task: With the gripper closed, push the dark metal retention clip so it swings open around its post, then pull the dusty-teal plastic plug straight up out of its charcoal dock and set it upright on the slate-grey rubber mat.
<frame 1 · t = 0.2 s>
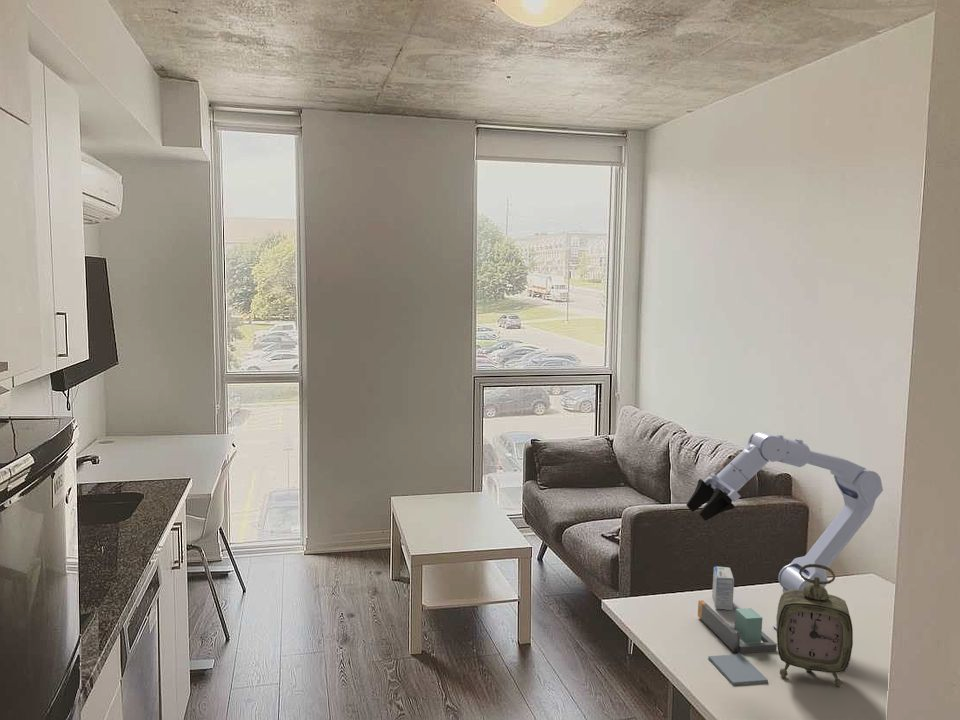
hand: (695, 512, 174), 31 cm above the table, tool tilted 45°, fingers open, 7 cm apart
medicine box: (721, 604, 198), on the table
plug: (748, 627, 177), in the dock
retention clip: (718, 624, 180), point 3 cm above the table, hinge at 0.0°
mat: (737, 670, 164), on the table
tabletop clock: (809, 676, 163), on the table
dock: (747, 641, 177), on the table
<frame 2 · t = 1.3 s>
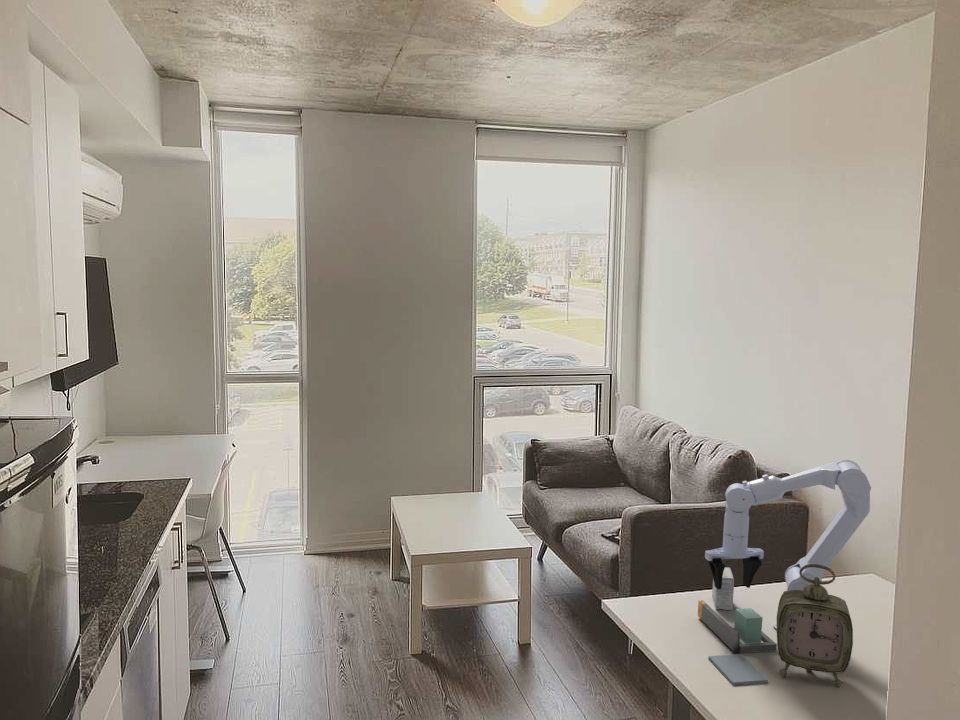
hand: (732, 586, 185), 9 cm above the table, tool pointing down, fingers open, 7 cm apart
nothing on the table moved.
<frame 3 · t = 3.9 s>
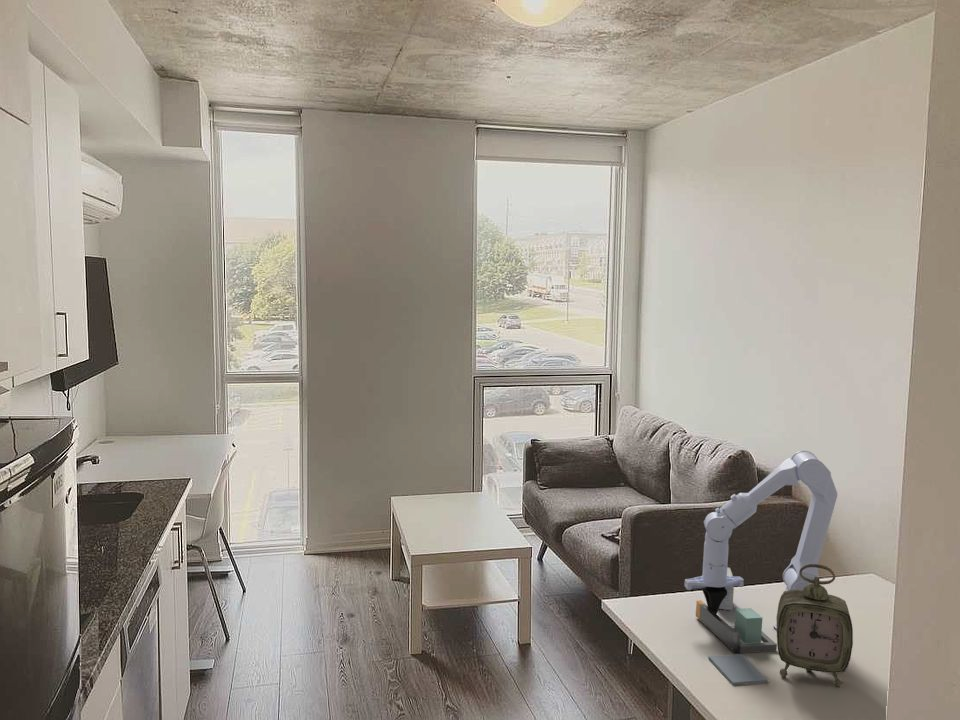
hand: (712, 615, 185), 2 cm above the table, tool pointing down, fingers closed
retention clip: (717, 624, 180), point 3 cm above the table, hinge at 1.8°, touching gripper
everything else where it was.
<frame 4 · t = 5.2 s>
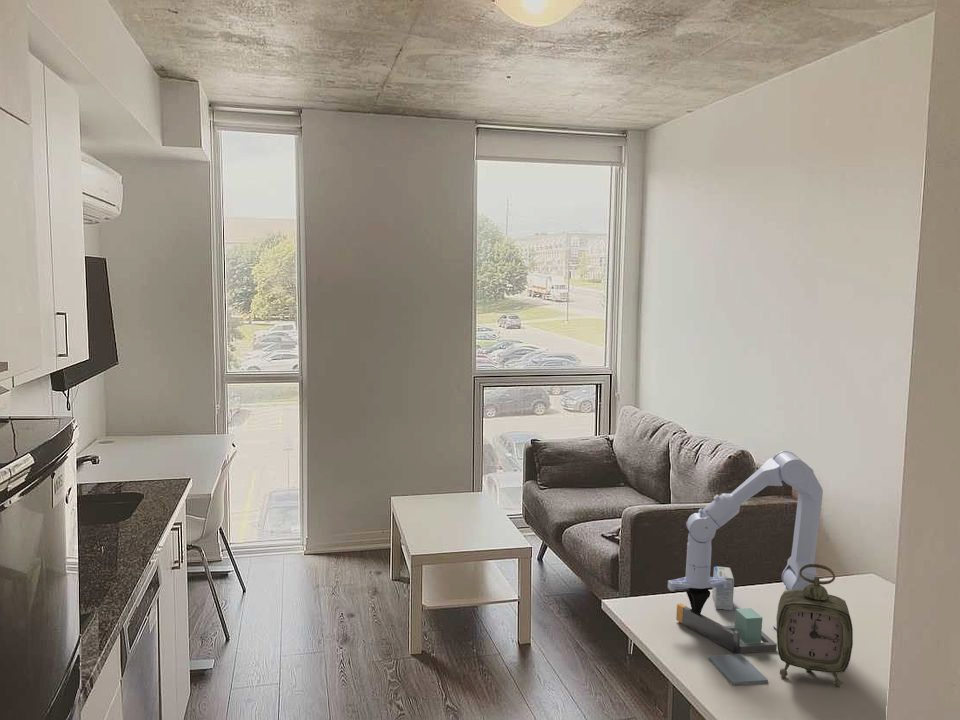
hand: (695, 616, 184), 2 cm above the table, tool pointing down, fingers closed
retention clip: (707, 626, 179), point 3 cm above the table, hinge at 20.8°, touching gripper
everything else where it was.
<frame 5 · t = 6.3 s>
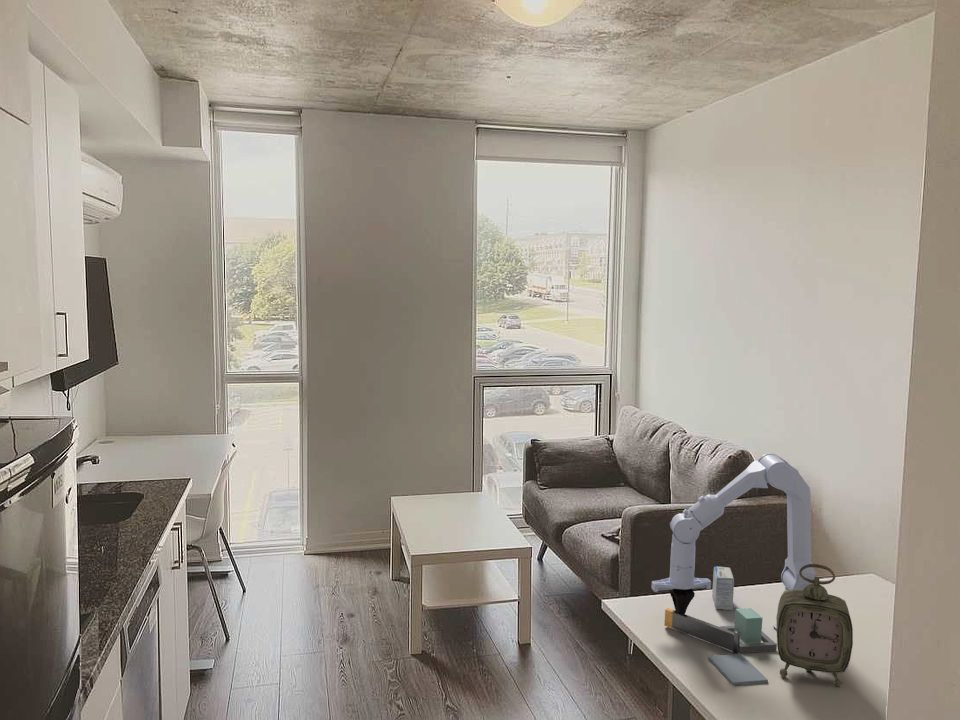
hand: (679, 617, 184), 2 cm above the table, tool pointing down, fingers closed
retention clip: (701, 629, 177), point 3 cm above the table, hinge at 36.1°, touching gripper
everything else where it was.
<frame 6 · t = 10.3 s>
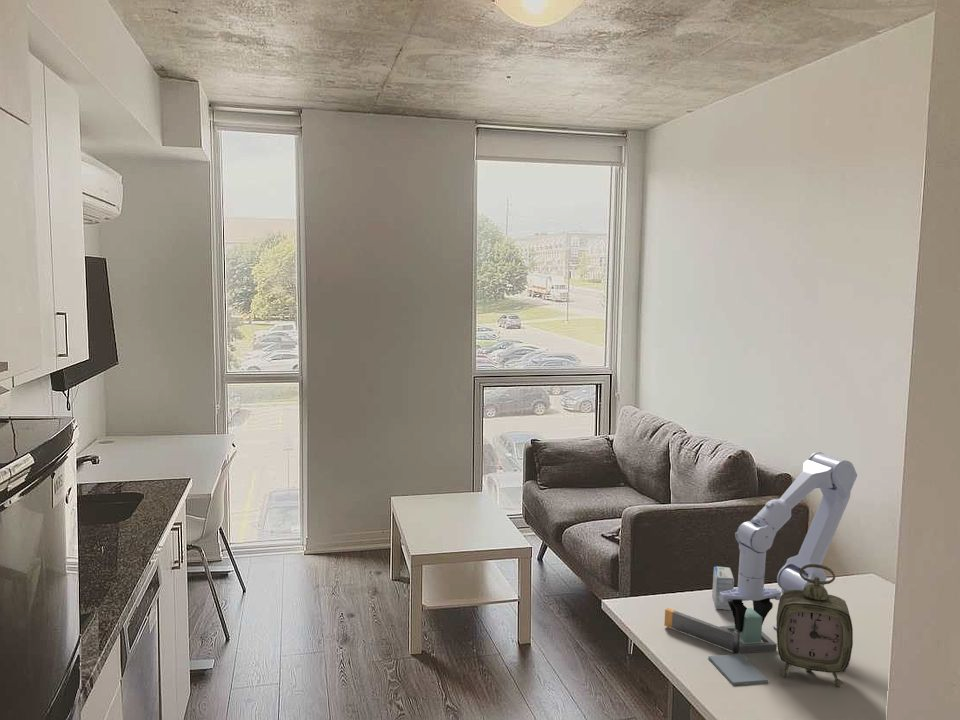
hand: (747, 629, 177), 3 cm above the table, tool pointing down, fingers closed on plug, 4 cm apart
plug: (748, 627, 177), in the dock, touching gripper
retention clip: (701, 629, 177), point 3 cm above the table, hinge at 36.1°
everything else where it was.
when the fingers open (5 cm above the table, at t = 16.2 s): plug drops 2 cm, resting on mat.
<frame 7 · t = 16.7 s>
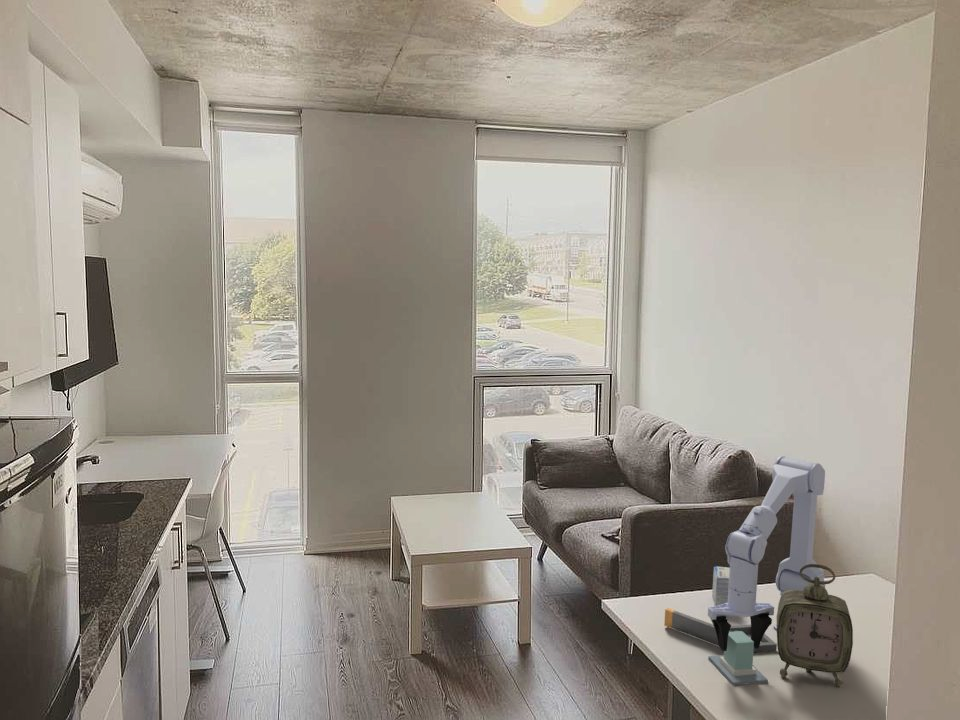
hand: (738, 647, 163), 5 cm above the table, tool pointing down, fingers open, 7 cm apart
plug: (738, 652, 164), on the mat, point 4 cm above the table
everything else where it was.
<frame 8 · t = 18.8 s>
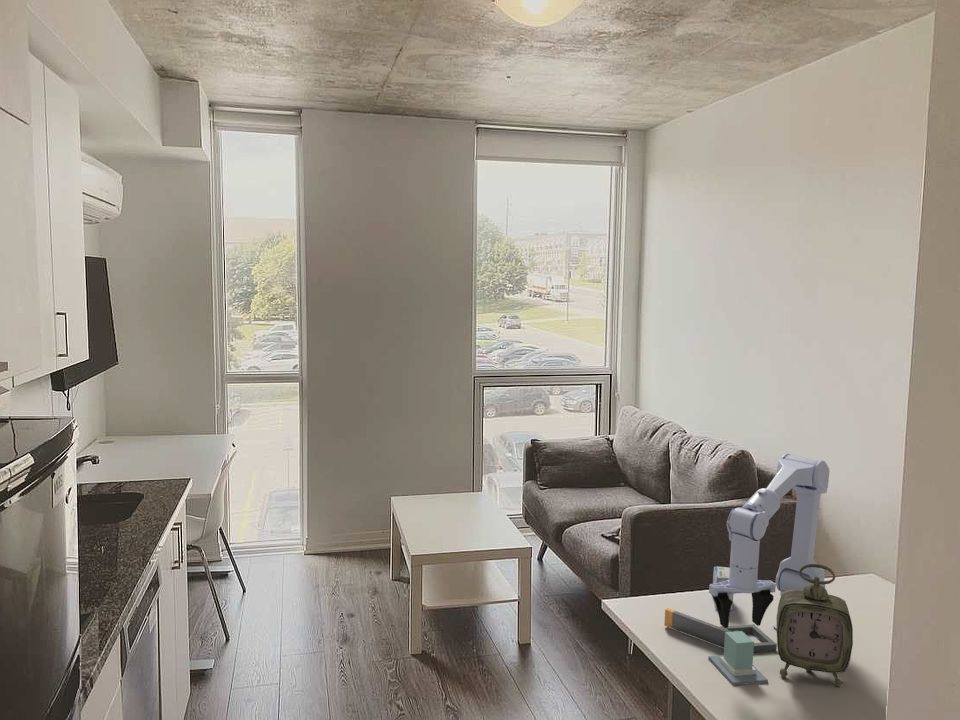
hand: (740, 624, 163), 10 cm above the table, tool pointing down, fingers open, 7 cm apart
nothing on the table moved.
at the end: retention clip at +36° (first picture: +0°); plug inside the target area on the mat (0.0 cm from its centre), point 4.1 cm above the mat's base; plug tilted 0° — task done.
